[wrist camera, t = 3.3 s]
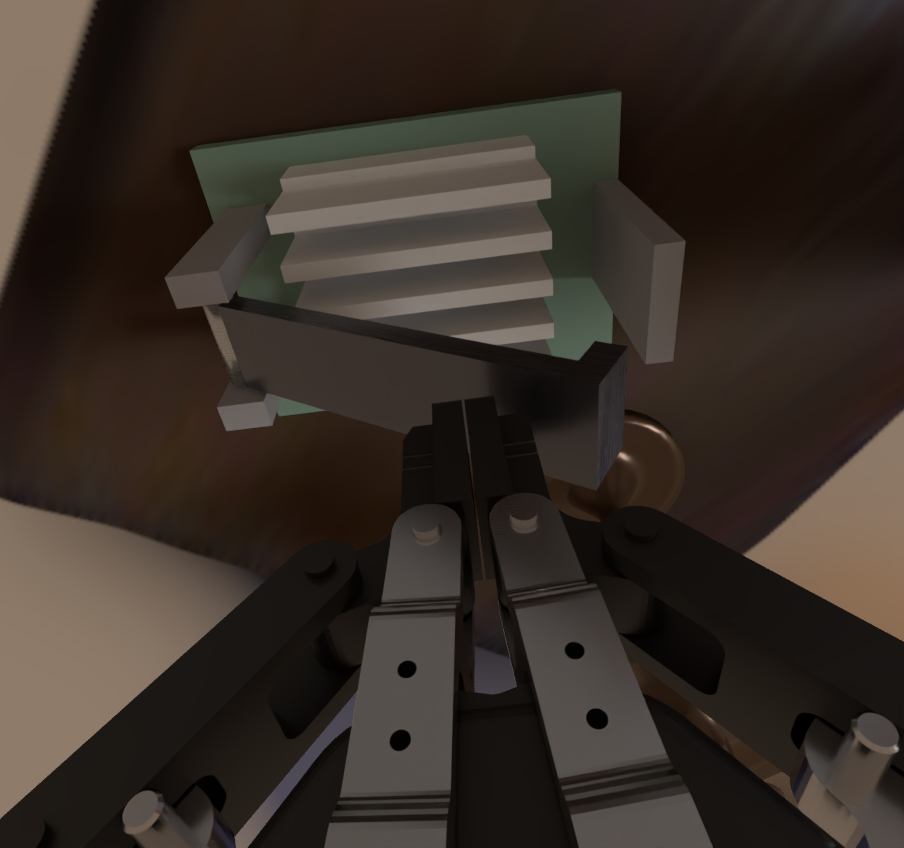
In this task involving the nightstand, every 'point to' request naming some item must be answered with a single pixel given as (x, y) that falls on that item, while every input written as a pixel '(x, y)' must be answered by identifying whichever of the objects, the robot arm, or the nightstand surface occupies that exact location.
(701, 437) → the nightstand surface
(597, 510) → the candlestick
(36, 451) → the nightstand surface
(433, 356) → the strap
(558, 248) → the heatsink board
